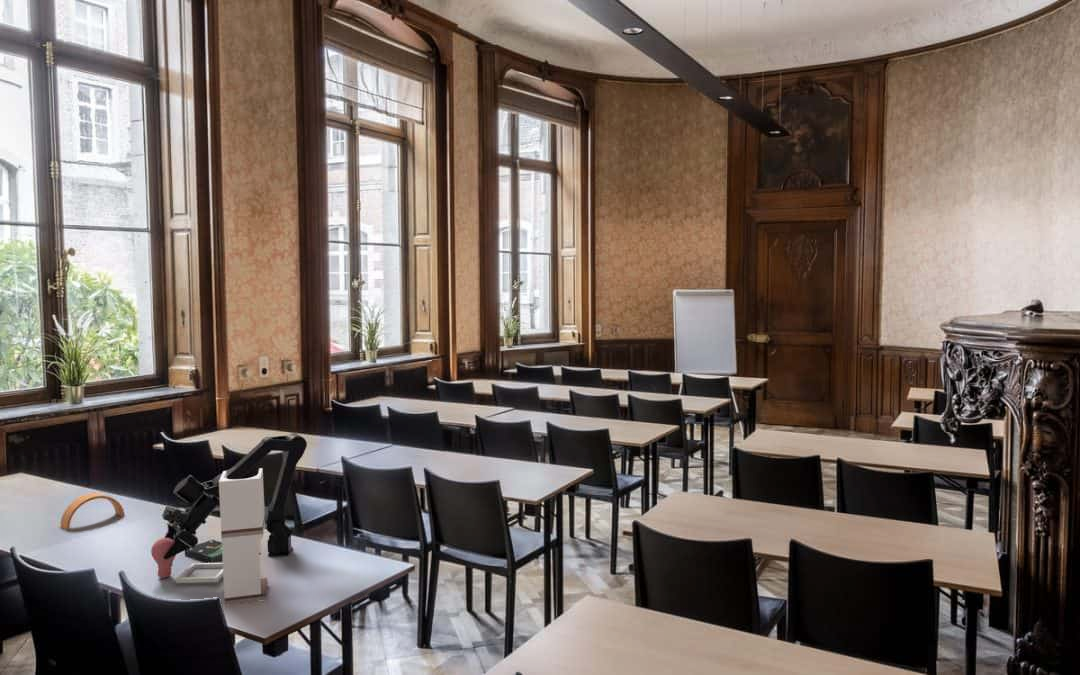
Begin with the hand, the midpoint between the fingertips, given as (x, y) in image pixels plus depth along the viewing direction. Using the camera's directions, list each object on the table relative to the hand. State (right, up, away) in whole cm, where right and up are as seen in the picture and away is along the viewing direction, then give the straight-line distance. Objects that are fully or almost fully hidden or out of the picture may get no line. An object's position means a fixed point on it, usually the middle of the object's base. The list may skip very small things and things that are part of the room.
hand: (162, 553), depth 232 cm
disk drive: (+7, -6, +19) cm, 21 cm away
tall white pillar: (+30, -8, -12) cm, 33 cm away
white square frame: (+13, -7, 0) cm, 15 cm away
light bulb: (+1, -8, +1) cm, 8 cm away
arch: (-52, -3, +54) cm, 75 cm away
